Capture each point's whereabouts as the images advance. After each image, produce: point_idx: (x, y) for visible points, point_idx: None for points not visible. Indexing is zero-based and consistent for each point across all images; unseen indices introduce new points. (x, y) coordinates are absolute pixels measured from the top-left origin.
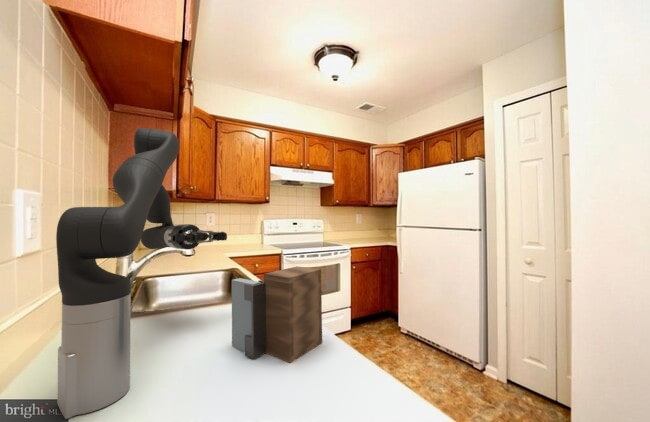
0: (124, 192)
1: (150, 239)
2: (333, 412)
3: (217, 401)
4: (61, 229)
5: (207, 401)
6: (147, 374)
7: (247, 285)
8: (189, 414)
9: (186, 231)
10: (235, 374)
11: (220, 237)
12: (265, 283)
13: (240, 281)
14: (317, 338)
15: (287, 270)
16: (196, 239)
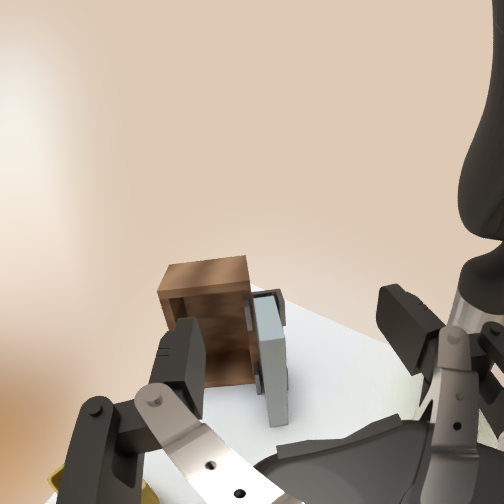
0: None
1: None
2: None
3: (345, 340)
4: None
5: (352, 343)
6: (409, 412)
7: (282, 297)
8: (368, 338)
9: (470, 377)
10: (316, 364)
11: (198, 371)
12: (251, 293)
13: (277, 318)
14: None
15: (202, 279)
16: (381, 308)
